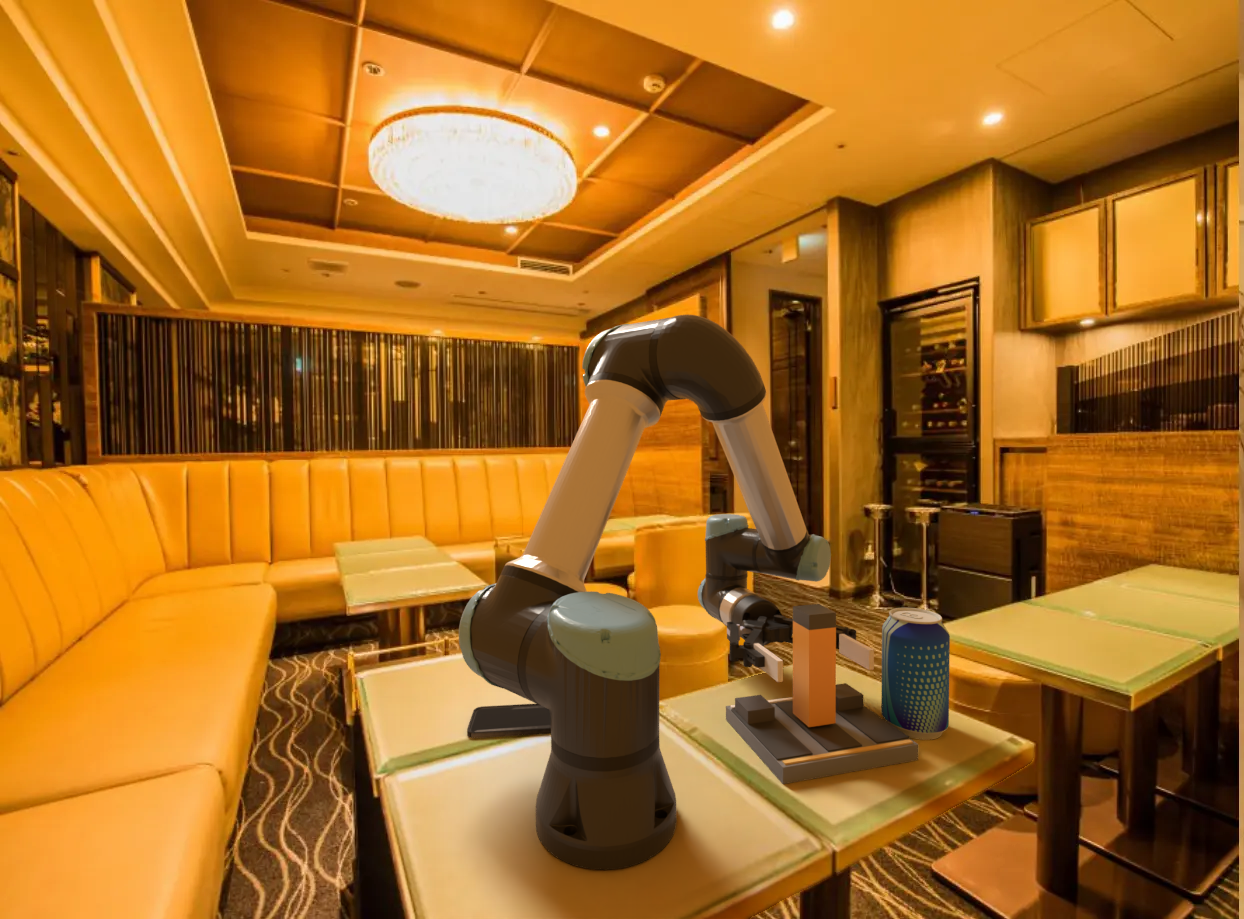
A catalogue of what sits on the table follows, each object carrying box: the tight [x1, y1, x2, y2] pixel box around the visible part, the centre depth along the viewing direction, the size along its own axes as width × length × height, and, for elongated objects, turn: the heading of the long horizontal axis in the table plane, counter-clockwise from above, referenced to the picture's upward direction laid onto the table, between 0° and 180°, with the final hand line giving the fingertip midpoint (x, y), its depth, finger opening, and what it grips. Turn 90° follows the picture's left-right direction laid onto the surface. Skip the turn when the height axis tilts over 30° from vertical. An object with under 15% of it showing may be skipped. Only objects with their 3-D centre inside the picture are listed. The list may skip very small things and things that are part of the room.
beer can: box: [881, 607, 951, 741], centre depth 81 cm, size 8×8×16 cm
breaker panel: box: [725, 682, 919, 785], centre depth 78 cm, size 19×16×4 cm
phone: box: [466, 703, 551, 739], centre depth 84 cm, size 8×1×15 cm
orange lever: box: [792, 603, 837, 727], centre depth 78 cm, size 4×4×15 cm
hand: (827, 665), depth 75 cm, fingers open, 13 cm apart
